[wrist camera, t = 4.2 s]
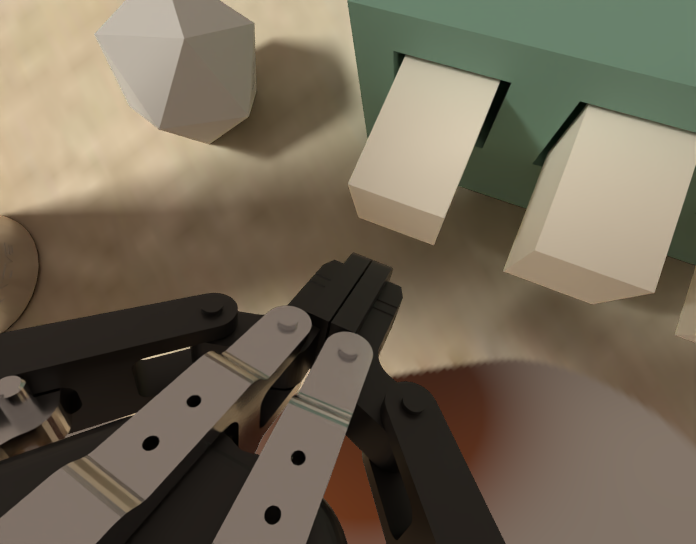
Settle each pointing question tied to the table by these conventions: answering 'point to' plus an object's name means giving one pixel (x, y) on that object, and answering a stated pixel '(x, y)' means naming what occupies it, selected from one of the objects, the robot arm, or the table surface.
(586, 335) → the table surface
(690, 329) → the button right
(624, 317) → the table surface
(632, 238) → the button mid
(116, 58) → the die
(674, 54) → the console
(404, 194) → the button left
